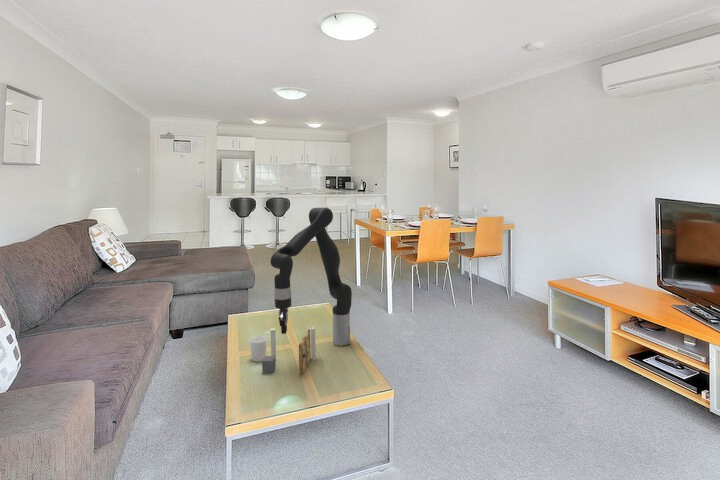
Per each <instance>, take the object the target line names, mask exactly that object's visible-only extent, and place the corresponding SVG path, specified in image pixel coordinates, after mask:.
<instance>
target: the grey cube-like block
mask: <svg viewBox="0 0 720 480" xmlns="http://www.w3.org/2000/svg"><path fill="white" fill-rule="evenodd" d="M261 368H262V374H264V375H265V374H274V373H275V370H276V361H275V356H271V355H266V356H264V358H263V360H262V361H261Z"/></svg>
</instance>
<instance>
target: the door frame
mask: <svg viewBox="0 0 720 480" xmlns="http://www.w3.org/2000/svg"><path fill="white" fill-rule="evenodd" d="M276 333H277V331H276V328H274V327H273V328H270V350H271V355H270V356H275V362H277V337H276V335H277V334H276ZM316 347H317V346H316V327H312V326H311V327H310V352H311V359H310V361H316V359H317V357H316V356H317V355H316V353H317V351H316Z"/></svg>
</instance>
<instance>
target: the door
mask: <svg viewBox="0 0 720 480" xmlns="http://www.w3.org/2000/svg"><path fill="white" fill-rule="evenodd" d="M310 361H311V329H307V332H306V334H305V335H304V336H303V338H302V339H301V341H300V342H299V343H298V367H299V368H298V373H299V375H303V374H304V372H305V370H306V368H307V367H308V365H309V363H310Z"/></svg>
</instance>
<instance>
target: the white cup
mask: <svg viewBox="0 0 720 480" xmlns="http://www.w3.org/2000/svg"><path fill="white" fill-rule="evenodd" d="M267 339H268V338H267V337H266V336H263V335H262V336H261V335H260V336H254V337H253V336H252V338H250V339H249V344H250V353H251V354H250V355H251V360H252V361H253V362H256V363H257V362H262V360H263V358H264V356H267V348H268V347H267V346H268V345H267Z"/></svg>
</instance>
